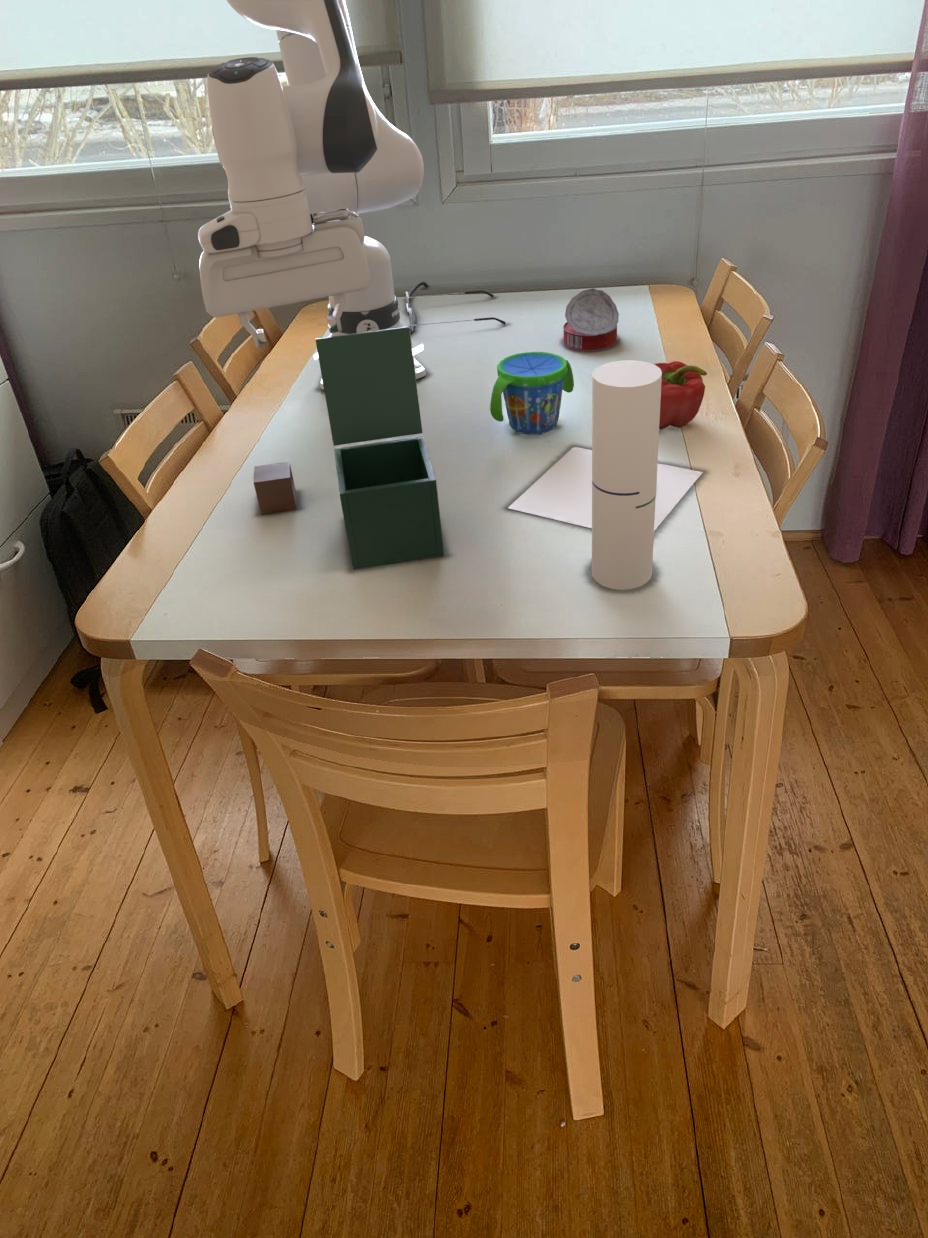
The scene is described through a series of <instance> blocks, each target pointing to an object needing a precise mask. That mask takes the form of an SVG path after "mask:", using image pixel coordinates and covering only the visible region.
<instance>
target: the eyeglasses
mask: <svg viewBox="0 0 928 1238" xmlns="http://www.w3.org/2000/svg"><path fill="white" fill-rule="evenodd" d="M408 293H409V292H408V291H405V304H406V305H405V306H406V311H407V314H408V316H409V327H410V326H411V332H414V329H413V327H414V326H415V327H416V326H424V325H426V323H418V324H417V323H416V325H415V324H413V316H412V310H411V308H410V306H411V304H410V305H409V302H410V299H411V298H414V296H410V297H409V296H408ZM479 293H482V294H485V295H487V296H489V297H490V298H495V297H494V294H493V293H490V292H488V291H486V290H470V291H469V290H468V291H464V292H463V294H464V295H469V294H479ZM461 294H462V292H455V293H453V292H452V295H461ZM444 295H446V296H448V295H450V293H441V294H440V296H444ZM434 296H435V297H436V296H437V297H438V294H431V295H430V294H429V295H428V297H434ZM424 297H426V295H422V296H421V295H419V296H418V295H417V296H416V298H424ZM491 320H494V321H497V322H499V323H501V324H502V325H504V326H505V325H506V321H505V320H502V319H500V318H497V317H492V316H491V317H479V318H474V319H465V320H463V322H471V321H474V322H481V321H491ZM458 322H461V320H452V321H451V323H458ZM447 323H450V321H441V322H439V324H447ZM435 324H438V322H430V323H428V325H435ZM415 327H414V328H415Z"/></svg>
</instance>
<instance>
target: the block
mask: <svg viewBox="0 0 928 1238" xmlns="http://www.w3.org/2000/svg"><path fill="white" fill-rule="evenodd" d="M293 475H294V474H293V471H292V466H291V462H290V461H284V462H277V463H269V464H262V465H256V466H254V467H253V486H254V490H255V494H256V499H257V504H258V508H259V511H260V515H268V514H274V513H279V512H287V511H294V510H298V506H297V490H296V485H295V480H294V477H293Z"/></svg>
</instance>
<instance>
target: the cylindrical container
mask: <svg viewBox="0 0 928 1238" xmlns="http://www.w3.org/2000/svg"><path fill="white" fill-rule="evenodd" d="M653 364H654V363H651V362H647V361H643V360H633V359H631V360H630V359H629V360H628V359H625V360H624V359H623V360H615V361H611V362H607V363H604V364H601V365H599V366H597V367H596V368H595V369H594V370H593V371H592V374H591V375H592V376H591V381H592V382H591V389H592V390H591V393H592V395H591V396H592V397H591V409H592V410H591V450H592V528H591V577H592V579H593V580H594V581H595V582H596V583H597V584H599V585H600V586H602V587H605V588H608V589H613V590H620V591H621V590H622V591H625V590H633V589H637V588H640V587H642V586H645V585H646V584H647V583H648V582H649V581H650V580H651V578H652V576H653V561H654V560H653V558H654V541H655V540H654V539H655V531H654V522H655V502H656V482H657V463H658V459H659V441H660V429H659V421H660V401H661V380H662V371H661V369H660V368H659V367H657V366H656V365H653Z"/></svg>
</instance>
